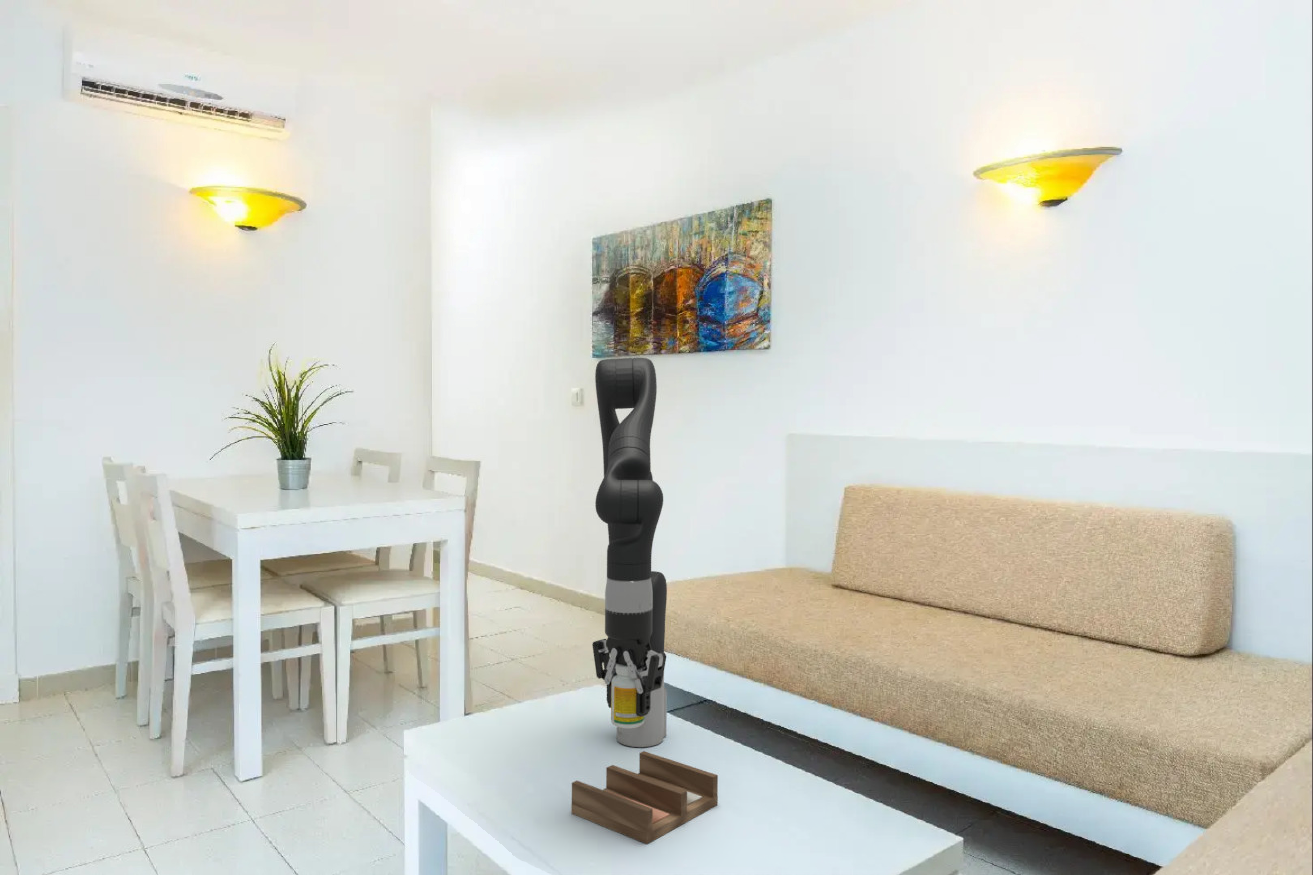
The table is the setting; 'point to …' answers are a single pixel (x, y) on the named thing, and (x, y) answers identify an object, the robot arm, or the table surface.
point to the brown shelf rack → (647, 797)
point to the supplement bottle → (624, 699)
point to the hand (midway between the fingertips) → (628, 710)
